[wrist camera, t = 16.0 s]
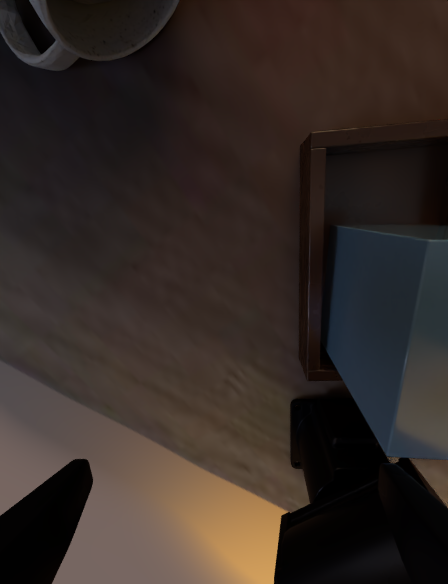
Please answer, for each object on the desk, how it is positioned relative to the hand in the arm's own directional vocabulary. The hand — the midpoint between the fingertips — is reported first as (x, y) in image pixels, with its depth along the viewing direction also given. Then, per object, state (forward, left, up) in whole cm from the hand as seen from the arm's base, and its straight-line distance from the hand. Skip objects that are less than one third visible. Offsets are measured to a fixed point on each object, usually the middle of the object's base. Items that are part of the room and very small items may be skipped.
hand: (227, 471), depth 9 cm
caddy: (+4, -9, -12) cm, 16 cm away
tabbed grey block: (+2, -9, -12) cm, 15 cm away
